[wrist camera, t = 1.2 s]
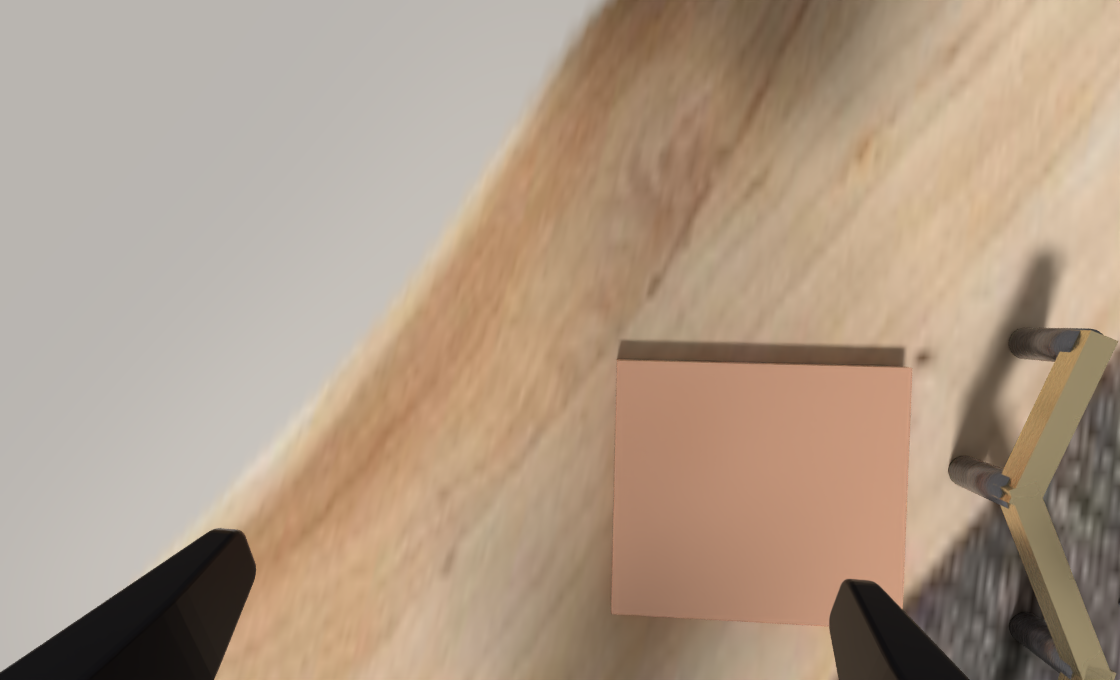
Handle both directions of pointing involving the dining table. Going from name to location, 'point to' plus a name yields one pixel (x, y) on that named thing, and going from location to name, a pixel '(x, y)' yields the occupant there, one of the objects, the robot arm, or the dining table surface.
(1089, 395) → the bent wire
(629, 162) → the dining table surface
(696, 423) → the terracotta tile
